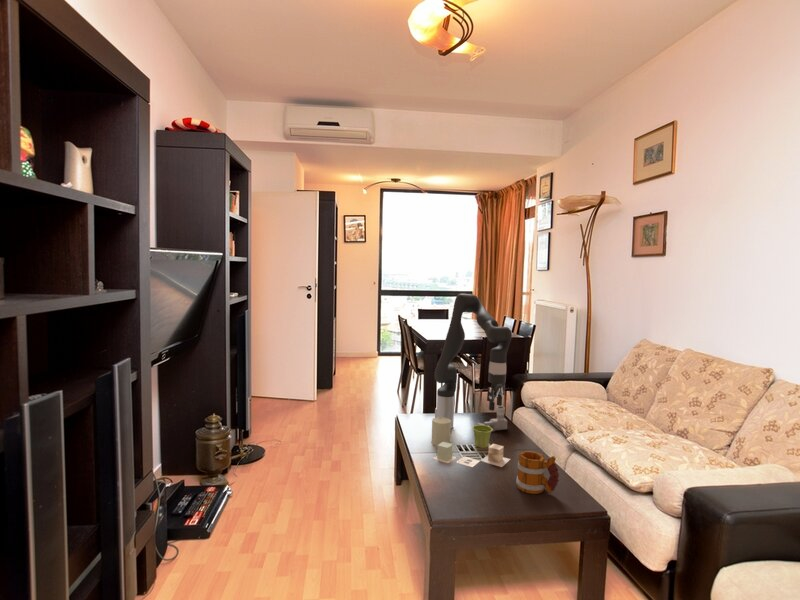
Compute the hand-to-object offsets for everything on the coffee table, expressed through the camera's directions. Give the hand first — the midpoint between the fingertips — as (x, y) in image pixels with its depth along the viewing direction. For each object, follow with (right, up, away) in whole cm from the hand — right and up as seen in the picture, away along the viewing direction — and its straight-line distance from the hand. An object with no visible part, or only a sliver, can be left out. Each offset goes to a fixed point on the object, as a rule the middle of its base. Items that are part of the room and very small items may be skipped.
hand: (495, 407), depth 197 cm
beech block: (0, -23, +1) cm, 23 cm away
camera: (+7, -21, +41) cm, 46 cm away
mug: (+10, -26, -25) cm, 37 cm away
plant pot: (-3, -23, +17) cm, 29 cm away
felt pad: (0, -24, 0) cm, 24 cm away
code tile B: (-22, -23, +1) cm, 32 cm away
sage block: (-22, -23, +1) cm, 32 cm away
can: (-23, -22, +19) cm, 37 cm away
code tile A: (-12, -24, -2) cm, 27 cm away
